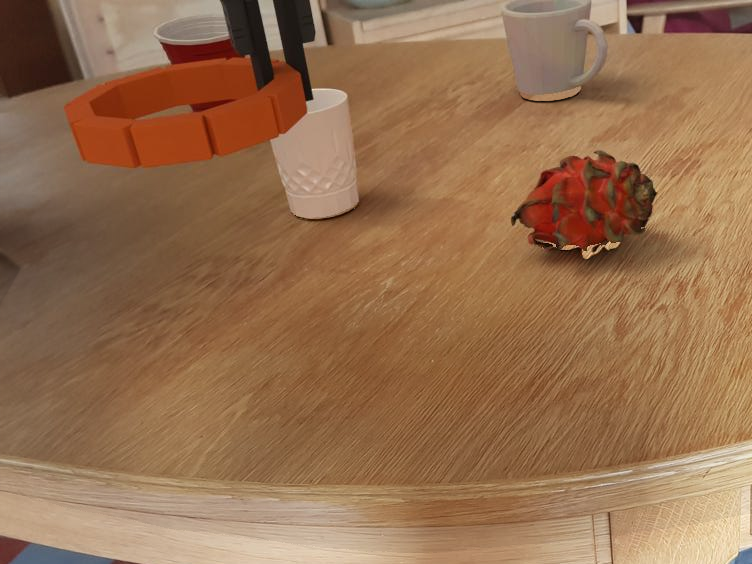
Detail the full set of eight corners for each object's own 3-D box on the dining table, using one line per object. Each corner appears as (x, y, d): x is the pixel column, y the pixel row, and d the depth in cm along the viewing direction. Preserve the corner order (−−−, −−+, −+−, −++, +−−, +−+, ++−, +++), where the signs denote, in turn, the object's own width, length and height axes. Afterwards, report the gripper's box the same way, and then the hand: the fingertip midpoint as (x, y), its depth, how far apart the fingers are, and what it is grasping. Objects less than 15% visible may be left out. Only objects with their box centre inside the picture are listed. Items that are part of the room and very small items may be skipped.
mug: (553, 75, 121) (549, -11, 115) (638, 95, 111) (639, 1, 105) (490, 96, 116) (482, 7, 110) (573, 119, 106) (570, 22, 100)
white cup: (275, 224, 90) (249, 117, 84) (298, 193, 96) (276, 90, 90) (354, 221, 88) (334, 112, 82) (374, 189, 95) (356, 85, 88)
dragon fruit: (668, 262, 79) (528, 296, 80) (645, 175, 82) (509, 210, 83) (671, 207, 71) (515, 247, 72) (645, 113, 73) (495, 153, 75)
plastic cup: (210, 149, 110) (180, 39, 103) (166, 133, 117) (136, 28, 109) (288, 123, 115) (265, 16, 108) (242, 109, 122) (217, 7, 115)
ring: (39, 141, 63) (25, 104, 62) (235, 82, 70) (226, 47, 69) (137, 186, 54) (124, 144, 52) (350, 112, 61) (343, 73, 60)
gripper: (49, -365, 45) (190, 138, 59) (342, -386, 49) (406, 89, 63) (38, -346, 50) (169, 110, 65) (302, -366, 54) (369, 67, 69)
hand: (286, 99), depth 64 cm, fingers closed on ring, 2 cm apart
